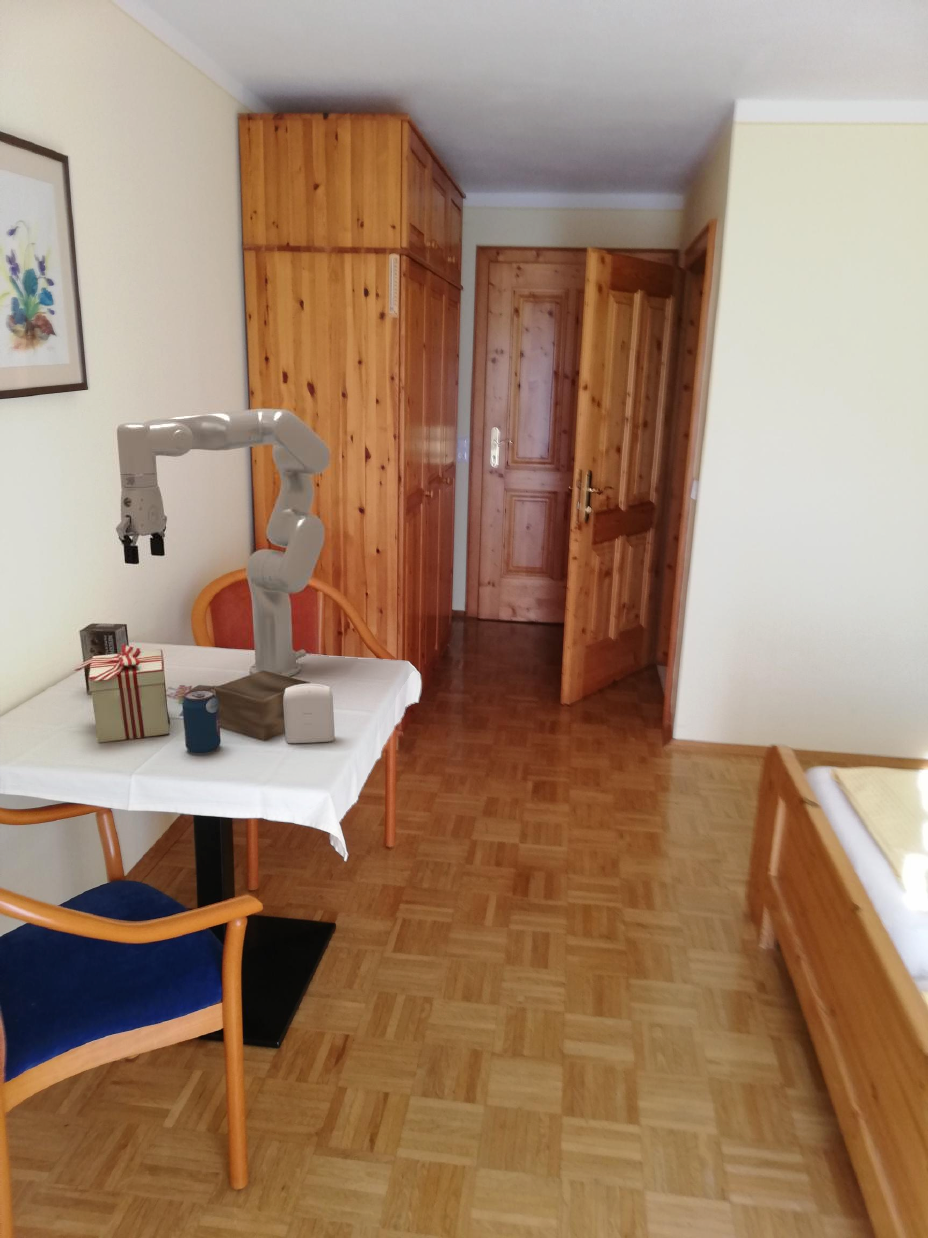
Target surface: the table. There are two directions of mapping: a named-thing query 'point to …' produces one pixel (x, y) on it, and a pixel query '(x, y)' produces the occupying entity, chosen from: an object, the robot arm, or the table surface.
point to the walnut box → (254, 704)
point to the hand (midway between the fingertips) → (145, 559)
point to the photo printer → (308, 713)
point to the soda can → (201, 721)
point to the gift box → (128, 694)
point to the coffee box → (101, 642)
